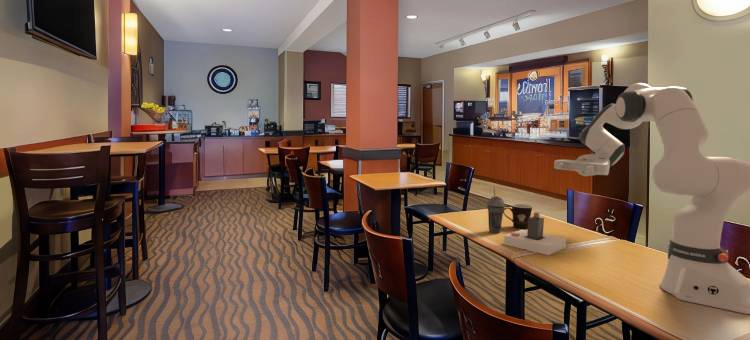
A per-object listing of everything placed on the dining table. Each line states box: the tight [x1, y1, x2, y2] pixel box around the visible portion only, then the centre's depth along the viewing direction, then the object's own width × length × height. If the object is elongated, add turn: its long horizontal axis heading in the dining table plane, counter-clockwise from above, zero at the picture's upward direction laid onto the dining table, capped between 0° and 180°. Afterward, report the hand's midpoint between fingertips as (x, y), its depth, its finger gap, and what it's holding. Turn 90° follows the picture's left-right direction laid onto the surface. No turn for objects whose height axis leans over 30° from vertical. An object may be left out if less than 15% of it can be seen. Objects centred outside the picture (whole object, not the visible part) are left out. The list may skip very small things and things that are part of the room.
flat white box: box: [503, 229, 567, 256], centre depth 166 cm, size 18×14×4 cm
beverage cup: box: [486, 185, 506, 234], centre depth 185 cm, size 7×7×20 cm
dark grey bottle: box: [527, 211, 545, 240], centre depth 166 cm, size 4×4×13 cm
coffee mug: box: [503, 203, 533, 230], centre depth 195 cm, size 12×9×10 cm
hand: (573, 167), depth 170 cm, fingers open, 8 cm apart
